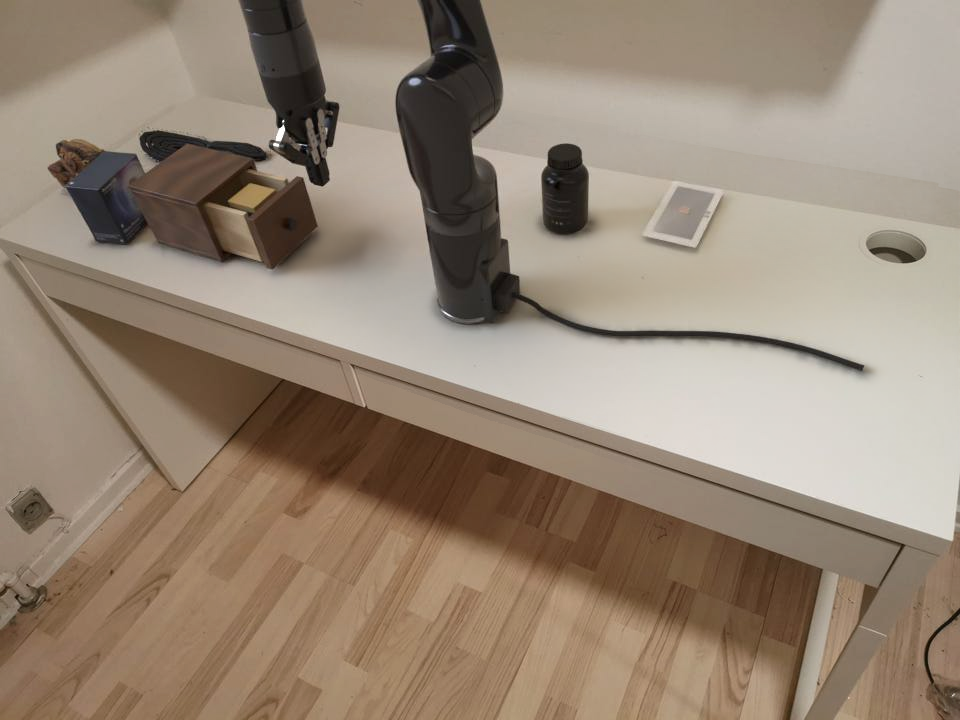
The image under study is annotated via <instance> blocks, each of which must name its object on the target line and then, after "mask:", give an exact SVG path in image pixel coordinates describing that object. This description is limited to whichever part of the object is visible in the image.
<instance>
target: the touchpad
mask: <svg viewBox="0 0 960 720" xmlns="http://www.w3.org/2000/svg"><path fill="white" fill-rule="evenodd" d="M724 192H725V190H722V189H717V188H712V187H707V186H703V185H702V186H701V185H697V184H691V183H686V182H681V181H676V180H672V182H671V184H670V185H669V187H668V188H667V190H666V192H665V194H664V196H663V198H662V199H661V201H660V202H659V204H658V206H657V208H656V209H655V212H654V213H653V215H652V217H651V218H650V220H649V222H648V223H647V225H646V227H645V228H644V230H643V232H642V234H641V236H642V237H646V238H650V239H655V240H660V241H664V242H668V243H673V244H677V245H681V246H686V247H689V248H695V249H697V246H698V245H699V242H700V240H701V239H702V236H703V235H704V232H705V230H706V229H707V227H708V224H709V223H710V220H711V218H712V217H713V215H714V213H715V210H716V208H717V206H718V205H719V203H720V200H721V198H722V196H723V194H724Z"/></svg>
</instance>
